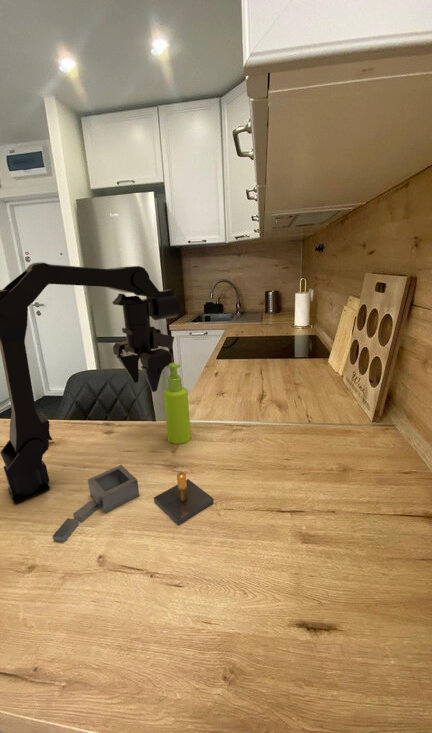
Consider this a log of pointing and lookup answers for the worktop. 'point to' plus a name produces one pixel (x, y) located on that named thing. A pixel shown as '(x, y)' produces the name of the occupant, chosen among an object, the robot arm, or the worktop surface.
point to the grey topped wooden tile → (86, 511)
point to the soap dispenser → (176, 408)
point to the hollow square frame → (116, 494)
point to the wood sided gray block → (65, 530)
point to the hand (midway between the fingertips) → (144, 386)
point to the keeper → (183, 500)
